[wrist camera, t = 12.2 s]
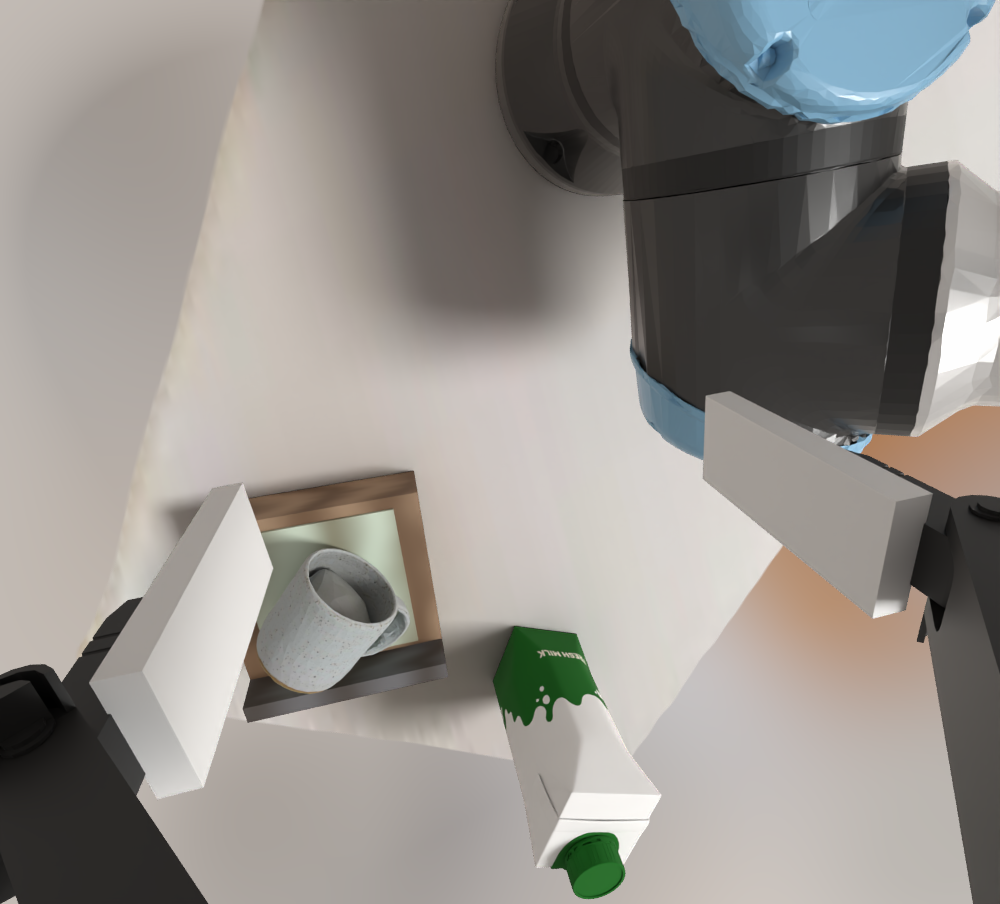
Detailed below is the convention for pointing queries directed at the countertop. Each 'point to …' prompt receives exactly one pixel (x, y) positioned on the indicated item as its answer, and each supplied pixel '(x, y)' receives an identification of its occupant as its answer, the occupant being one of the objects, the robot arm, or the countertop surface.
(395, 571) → the step
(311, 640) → the ceramic mug
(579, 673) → the milk carton
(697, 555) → the countertop surface
